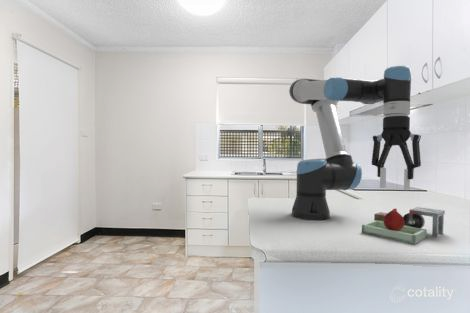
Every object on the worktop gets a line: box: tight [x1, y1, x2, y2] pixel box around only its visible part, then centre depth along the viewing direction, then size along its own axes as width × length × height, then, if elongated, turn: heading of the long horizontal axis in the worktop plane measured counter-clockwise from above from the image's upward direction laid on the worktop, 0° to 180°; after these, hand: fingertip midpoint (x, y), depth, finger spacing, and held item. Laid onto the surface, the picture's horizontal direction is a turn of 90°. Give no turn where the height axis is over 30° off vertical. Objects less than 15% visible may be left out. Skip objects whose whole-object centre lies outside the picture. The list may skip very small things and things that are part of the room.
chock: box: [373, 211, 388, 222], centre depth 108 cm, size 4×5×4 cm
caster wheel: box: [402, 206, 446, 238], centre depth 99 cm, size 11×8×8 cm
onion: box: [384, 208, 404, 231], centre depth 94 cm, size 6×6×8 cm
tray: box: [361, 220, 428, 245], centre depth 94 cm, size 16×11×2 cm
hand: (394, 188), depth 94 cm, fingers open, 6 cm apart
